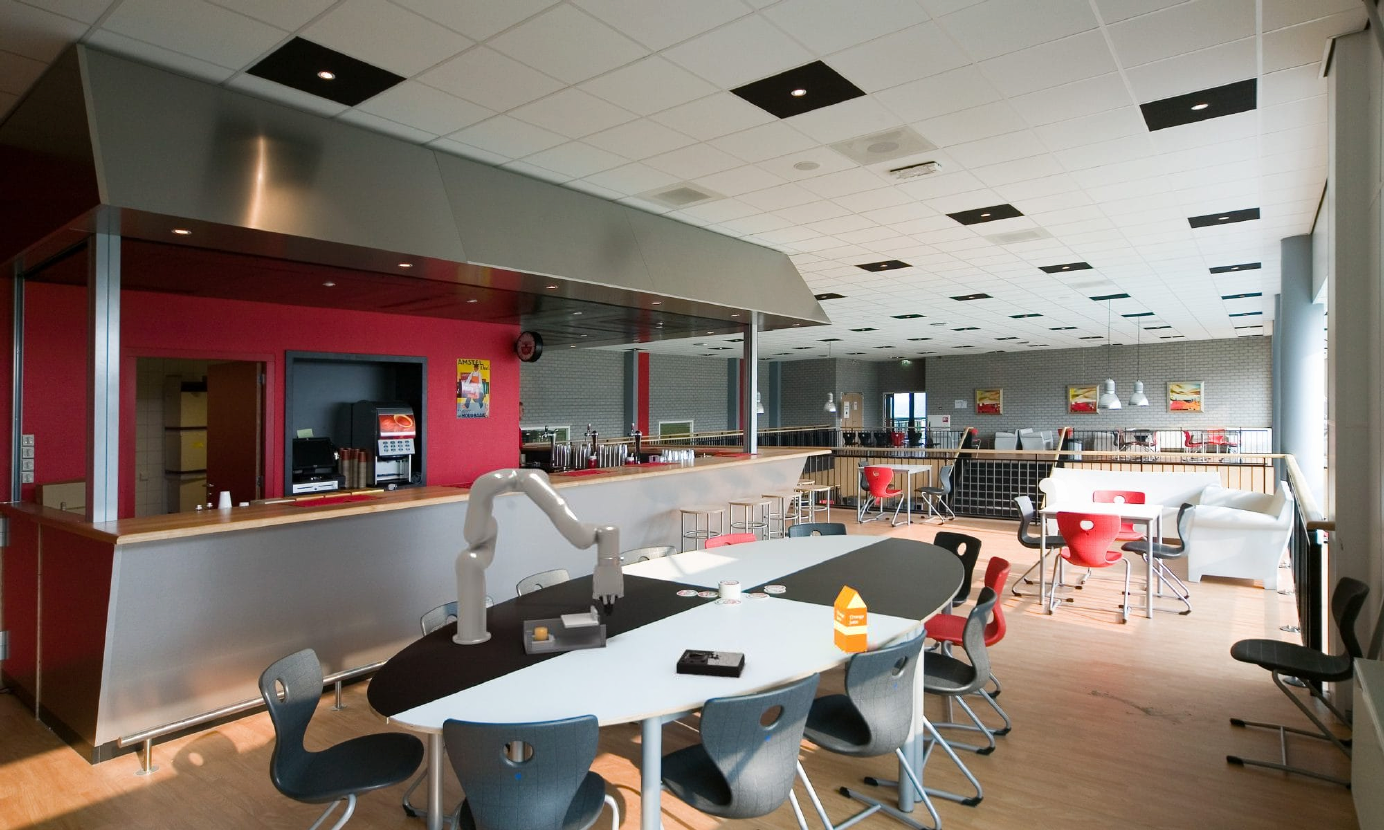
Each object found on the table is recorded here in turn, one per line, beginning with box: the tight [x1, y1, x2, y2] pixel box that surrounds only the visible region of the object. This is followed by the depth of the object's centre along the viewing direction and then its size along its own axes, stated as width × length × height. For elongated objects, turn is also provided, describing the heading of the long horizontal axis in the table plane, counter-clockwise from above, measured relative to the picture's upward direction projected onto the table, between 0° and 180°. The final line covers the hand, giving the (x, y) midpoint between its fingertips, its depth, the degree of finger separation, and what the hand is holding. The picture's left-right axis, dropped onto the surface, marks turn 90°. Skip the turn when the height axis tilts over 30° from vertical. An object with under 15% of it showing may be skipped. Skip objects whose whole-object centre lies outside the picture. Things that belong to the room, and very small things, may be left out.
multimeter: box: [675, 649, 746, 679], centre depth 230 cm, size 13×19×5 cm
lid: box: [560, 605, 599, 628], centre depth 254 cm, size 13×11×4 cm
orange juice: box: [833, 585, 868, 653], centre depth 249 cm, size 8×9×20 cm
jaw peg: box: [535, 627, 547, 642], centre depth 250 cm, size 4×4×5 cm
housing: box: [523, 614, 607, 655], centre depth 252 cm, size 13×26×7 cm, turn 106°
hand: (608, 614), depth 256 cm, fingers closed
